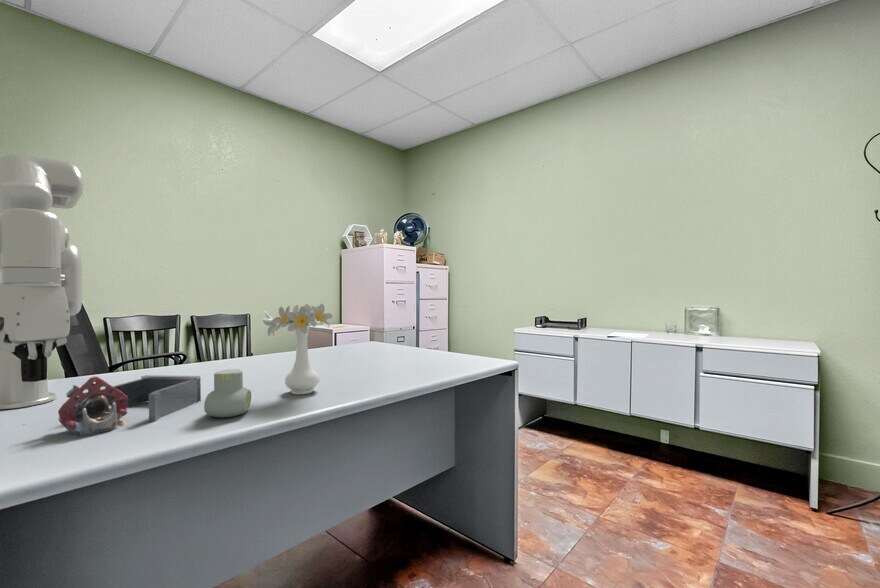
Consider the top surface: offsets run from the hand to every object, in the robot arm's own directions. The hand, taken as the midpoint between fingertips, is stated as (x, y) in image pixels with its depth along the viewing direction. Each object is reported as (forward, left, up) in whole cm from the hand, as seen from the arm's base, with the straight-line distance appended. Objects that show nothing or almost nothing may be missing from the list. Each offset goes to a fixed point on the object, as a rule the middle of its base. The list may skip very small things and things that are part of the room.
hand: (34, 380), depth 72 cm
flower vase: (+30, +43, -13) cm, 54 cm away
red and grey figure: (-1, +12, -13) cm, 18 cm away
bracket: (0, +25, -13) cm, 28 cm away
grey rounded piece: (+22, +23, -13) cm, 34 cm away
